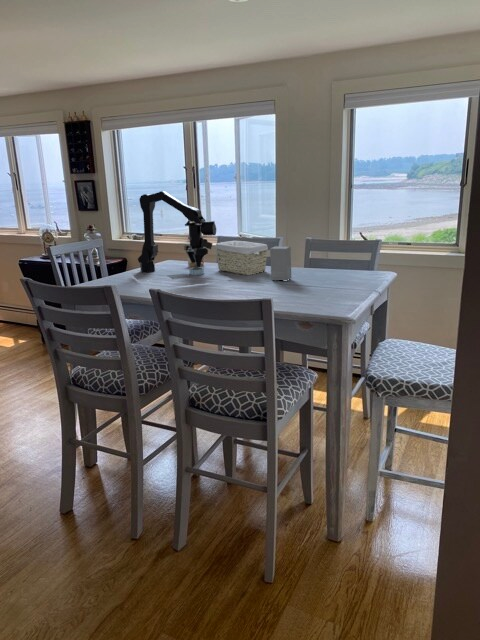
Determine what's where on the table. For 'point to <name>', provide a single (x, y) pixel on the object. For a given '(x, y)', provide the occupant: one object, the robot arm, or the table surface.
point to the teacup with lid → (195, 261)
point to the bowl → (196, 271)
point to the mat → (179, 276)
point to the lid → (195, 265)
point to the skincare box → (280, 263)
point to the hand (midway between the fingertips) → (196, 266)
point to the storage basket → (241, 257)
